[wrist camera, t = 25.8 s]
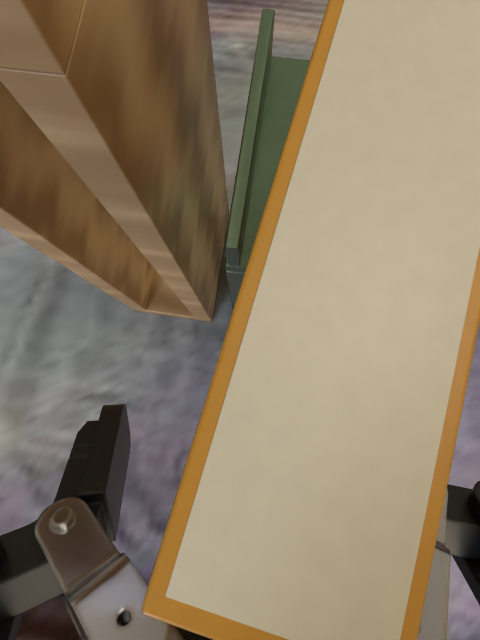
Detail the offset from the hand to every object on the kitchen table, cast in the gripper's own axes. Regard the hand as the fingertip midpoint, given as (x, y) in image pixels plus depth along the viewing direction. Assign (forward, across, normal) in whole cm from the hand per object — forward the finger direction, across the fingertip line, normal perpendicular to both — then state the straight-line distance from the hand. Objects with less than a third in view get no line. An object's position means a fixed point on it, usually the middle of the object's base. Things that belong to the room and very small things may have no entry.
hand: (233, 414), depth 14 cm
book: (+6, -5, -4) cm, 9 cm away
